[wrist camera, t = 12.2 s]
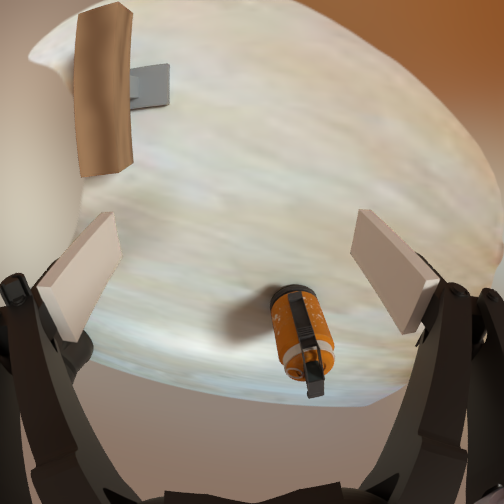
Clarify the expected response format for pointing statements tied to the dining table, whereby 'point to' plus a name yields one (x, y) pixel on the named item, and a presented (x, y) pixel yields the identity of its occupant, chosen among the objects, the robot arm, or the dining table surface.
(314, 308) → the canister
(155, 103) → the fulcrum
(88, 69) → the walnut bar
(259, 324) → the dining table surface
